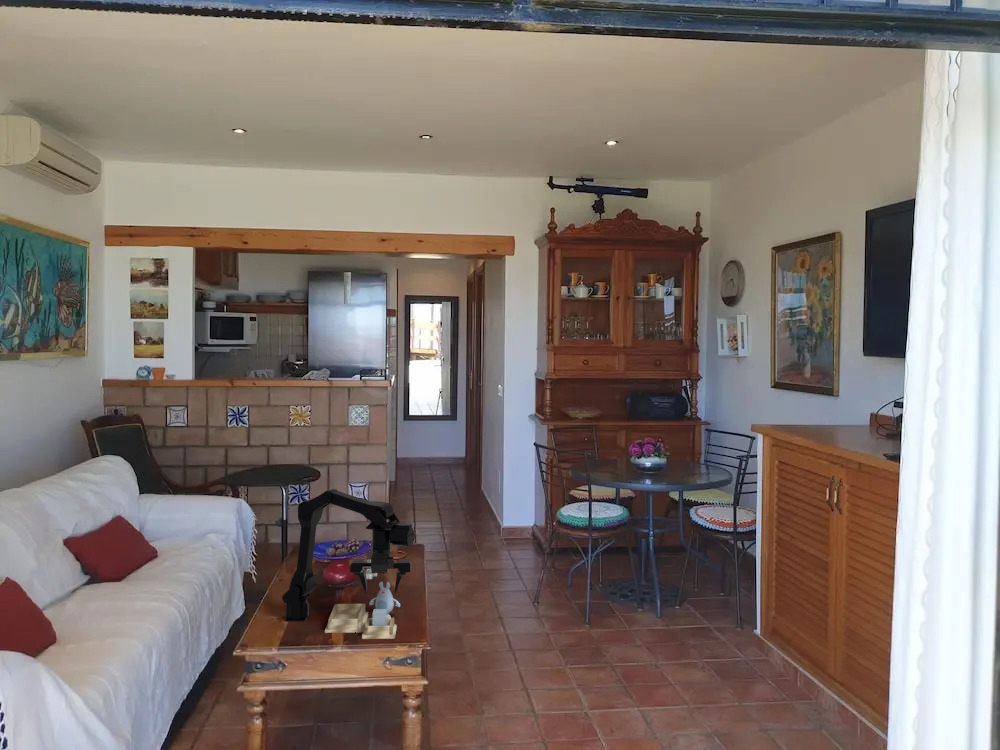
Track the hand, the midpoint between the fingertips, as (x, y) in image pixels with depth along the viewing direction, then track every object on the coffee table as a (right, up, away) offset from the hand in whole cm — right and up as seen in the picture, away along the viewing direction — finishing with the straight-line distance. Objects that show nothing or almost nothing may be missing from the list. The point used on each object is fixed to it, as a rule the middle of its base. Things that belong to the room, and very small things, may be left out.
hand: (380, 592), depth 239 cm
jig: (-6, -12, +4) cm, 14 cm away
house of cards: (-11, -11, +53) cm, 55 cm away
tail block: (0, -11, -2) cm, 11 cm away
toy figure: (-1, -12, +12) cm, 17 cm away
